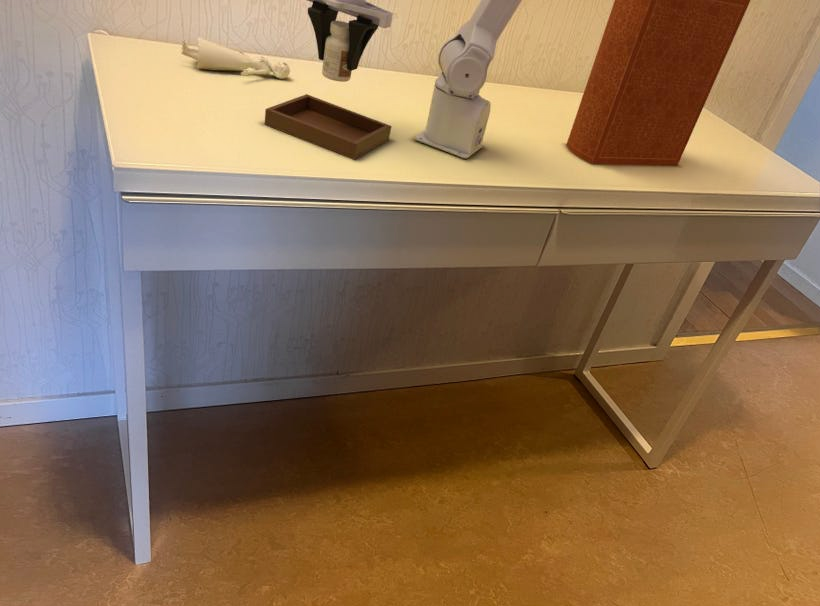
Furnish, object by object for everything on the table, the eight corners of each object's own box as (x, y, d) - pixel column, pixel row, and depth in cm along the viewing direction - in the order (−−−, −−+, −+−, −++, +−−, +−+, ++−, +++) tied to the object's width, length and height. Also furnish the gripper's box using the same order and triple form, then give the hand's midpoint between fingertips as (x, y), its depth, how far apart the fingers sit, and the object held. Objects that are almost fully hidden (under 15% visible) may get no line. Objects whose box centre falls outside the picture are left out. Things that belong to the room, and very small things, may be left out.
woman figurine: (183, 25, 119) (289, 49, 126) (181, 51, 122) (285, 74, 129) (181, 45, 111) (294, 70, 118) (179, 73, 113) (290, 96, 120)
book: (650, 148, 140) (717, -15, 123) (677, 165, 135) (751, -2, 117) (561, 144, 129) (621, -35, 112) (587, 164, 124) (653, -21, 106)
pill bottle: (345, 84, 105) (352, 30, 101) (317, 76, 105) (323, 22, 101) (353, 78, 109) (361, 25, 104) (327, 70, 109) (333, 17, 104)
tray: (389, 140, 111) (391, 125, 110) (354, 159, 102) (356, 144, 101) (305, 108, 114) (306, 93, 113) (264, 124, 105) (265, 108, 104)
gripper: (289, -49, 96) (282, 52, 104) (382, -19, 93) (367, 83, 101) (316, -51, 101) (306, 46, 110) (404, -22, 99) (388, 75, 107)
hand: (337, 63), depth 106 cm, fingers closed on pill bottle, 4 cm apart
